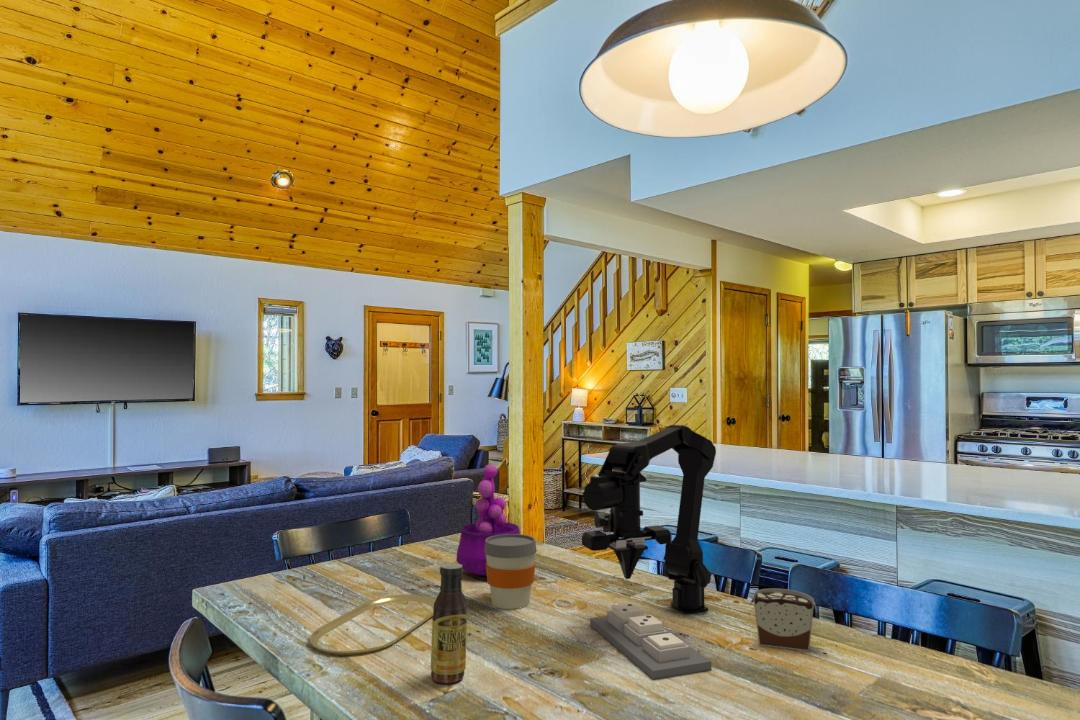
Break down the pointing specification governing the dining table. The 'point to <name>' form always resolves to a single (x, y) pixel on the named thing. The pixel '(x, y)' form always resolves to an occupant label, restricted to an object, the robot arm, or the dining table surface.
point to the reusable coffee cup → (510, 569)
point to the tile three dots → (645, 624)
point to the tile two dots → (626, 611)
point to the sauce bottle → (449, 627)
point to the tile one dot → (665, 641)
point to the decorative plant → (483, 526)
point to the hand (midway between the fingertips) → (627, 578)
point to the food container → (783, 618)
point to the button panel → (649, 649)
